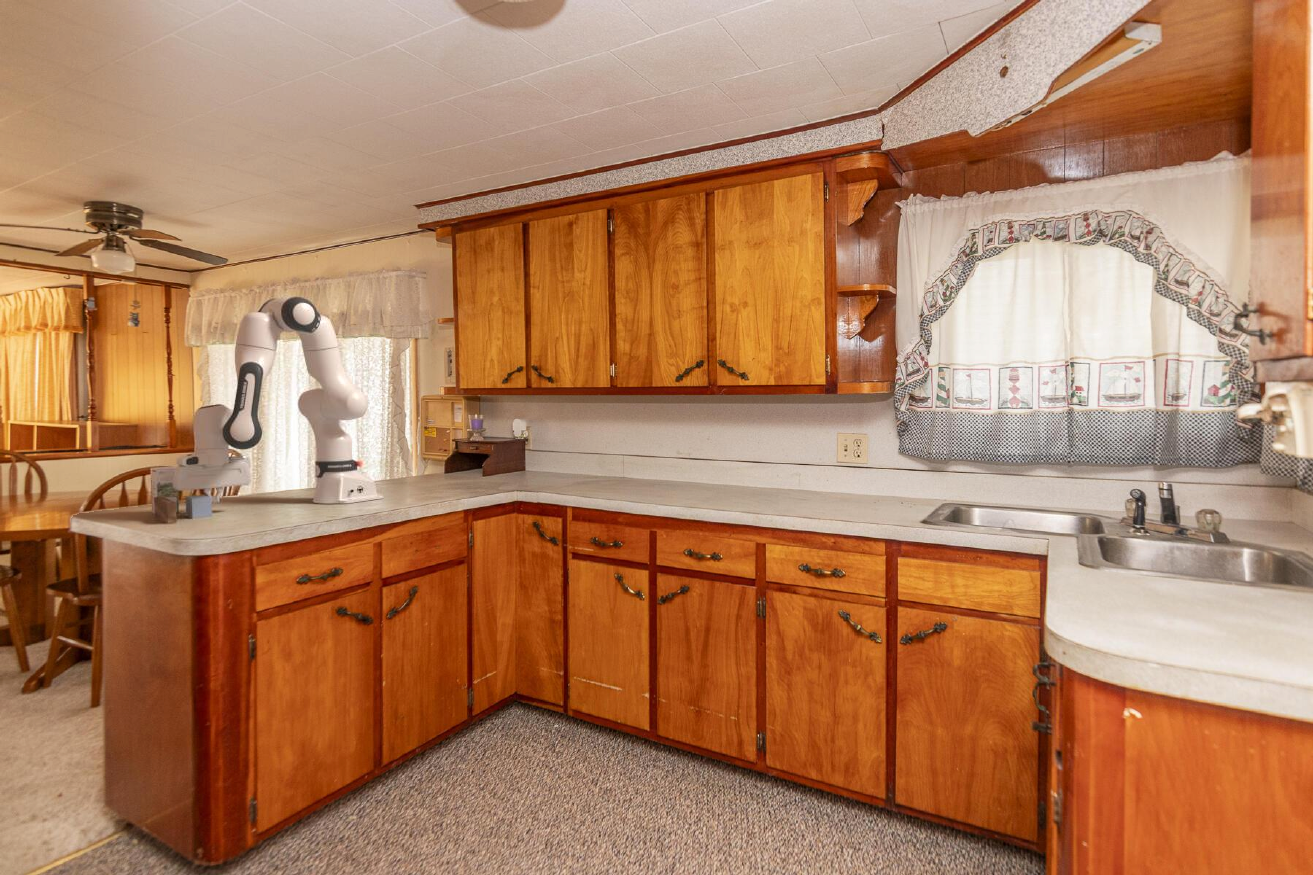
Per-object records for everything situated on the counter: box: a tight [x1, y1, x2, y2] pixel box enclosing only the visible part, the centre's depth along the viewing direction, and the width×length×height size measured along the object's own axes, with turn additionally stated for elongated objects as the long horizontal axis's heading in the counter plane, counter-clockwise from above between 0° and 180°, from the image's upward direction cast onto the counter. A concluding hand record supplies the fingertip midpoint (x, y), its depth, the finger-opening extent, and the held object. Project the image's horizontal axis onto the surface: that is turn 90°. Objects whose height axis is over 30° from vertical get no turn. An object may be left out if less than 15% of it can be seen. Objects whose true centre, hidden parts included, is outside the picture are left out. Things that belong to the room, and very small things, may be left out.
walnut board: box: [154, 497, 178, 525], centre depth 201 cm, size 2×16×6 cm, turn 47°
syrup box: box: [150, 465, 180, 515], centre depth 212 cm, size 6×6×14 cm
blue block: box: [185, 494, 213, 520], centre depth 207 cm, size 5×7×6 cm
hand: (213, 502), depth 210 cm, fingers closed
